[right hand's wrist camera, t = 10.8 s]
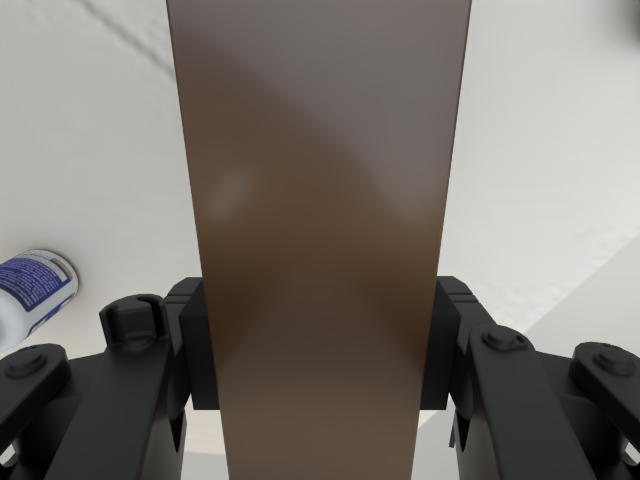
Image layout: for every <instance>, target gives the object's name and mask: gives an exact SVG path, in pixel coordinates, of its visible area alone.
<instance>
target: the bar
mask: <svg viewBox="0 0 640 480" xmlns="http://www.w3.org/2000/svg"><path fill="white" fill-rule="evenodd" d="M471 4H472V0H166V5H167V13H168V20H169V28H170V35H171V43H172V51H173V58H174V66H175V73H176V81H177V88H178V96H179V103H180V111H181V119H182V126H183V134H184V141H185V149H186V156H187V164H188V171H189V179H190V187H191V194H192V202H193V209H194V217H195V224H196V232H197V239H198V247H199V255H200V262H201V270H202V277H203V285H204V292H205V300H206V307H207V315H208V323H209V330H210V338H211V345H212V353H213V360H214V368H215V375H216V383H217V391H218V398H219V406H220V413H221V421H222V428H223V436H224V443H225V451H226V459H227V466H228V473H229V480H411V474H412V467H413V459H414V451H415V443H416V435H417V428H418V420H419V412H420V404H421V396H422V388H423V380H424V373H425V365H426V357H427V349H428V341H429V333H430V326H431V318H432V310H433V302H434V294H435V286H436V278H437V271H438V263H439V255H440V247H441V239H442V231H443V223H444V216H445V208H446V200H447V192H448V184H449V176H450V169H451V161H452V153H453V145H454V137H455V129H456V121H457V114H458V106H459V98H460V90H461V82H462V74H463V66H464V59H465V51H466V43H467V35H468V27H469V19H470V12H471Z"/></svg>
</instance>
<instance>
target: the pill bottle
mask: <svg viewBox="0 0 640 480" xmlns="http://www.w3.org/2000/svg"><path fill="white" fill-rule="evenodd" d="M77 290H78V279H77V276H76V273H75V272H74V270H73V268H72V267H71V266H70V264H69V263H68V262H66V261H65V260H64V259H63V258H61V257H60V256H58V255H56V254H54V253H51V252H48V251H44V250H30V251H26V252H23V253H21V254H19V255H17V256H16V257H14V258H12V259H10V260H8V261H6V262H4V263H2V264H1V265H0V352H1V351H5V350H9V349H11V348H13V347H15V346H17V345H18V344H20V343H21V342H22V341H23V340H25V339H26V338H27V337H28V336H30V335H31V334H32V333H33V332H34V331H35V330H37V329H38V328H39V327H40V326H41V325H43V324H44V323H45V322H46V321H47V320H49V319H50V318H51V317H52V316H53V315H55V314H56V313H57V312H58V311H59V310H61V309H62V308H63V307H64V306H65V305H67V304H68V303H69V302H70V301H71V300H72V299H73V298H74V297H75V295H76V293H77Z"/></svg>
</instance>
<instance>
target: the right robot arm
mask: <svg viewBox="0 0 640 480" xmlns="http://www.w3.org/2000/svg"><path fill="white" fill-rule="evenodd" d="M99 316H100V320H101V324H102V328H103V331H104V335H105V339H106V343H107V347H106V349H105V351H104V353H100V354H96V355H91V356H86V357H81V358H76V359H71V360H68V358H67V355H66V351H65V349H64V348H63V347H61V346H60V345H57V344H50V343H48V344H39V345H33V346H30V347H25V348H22V349H20V350H18V351H16V352H14V353H12V354H9V355H7V356H6V357H4V358H3V359H1V360H0V456H1V455H2V453H3V452H4V451H5V450H6V449H7V448H8V447H9V446H10V444H11V443H12V446H13V448H14V450H15V454H14V455H13V456H12V457H11V458H10V459H9V460H8V461H7V462H6V463H5V464H3V465H2V464H1V463H0V480H180V479H181V470H182V461H183V453H184V444H185V436H186V427H187V421H186V415H185V409H184V408H185V405H186V403H187V401H188V398H189V396H190V394H191V397H192V403H193V409H194V410H220V406H219V398H218V391H217V383H216V375H215V368H214V360H213V353H212V345H211V338H210V330H209V323H208V315H207V307H206V300H205V292H204V285H203V277H187V278H185V279H183V280H182V281H180V282H179V283H177V284H175V285H174V286H173V288H172V289H171V290H170V291H169V293H168V294H167V296H166V297H165V298H164V299H163V298H162V297H161V296H158V295H154V294H138V295H132V296H127V297H124V298H122V299H119V300H116V301H114V302H112V303H110V304H109V305H107V306H105V307H104V308H103V309H102V310H101V311H100V312H99ZM449 393H450V395H451V397H452V400H453V402H454V404H455V406H456V409H455V415H454V420H453V426H452V431H451V437H450V443H449V447H452V448H454V444H456V452H457V461H458V469H459V478H460V480H640V462H639V463H638V464H637V463H636V462H635V461H634V460H633V459H631V457H630V456H629V455H628V454H627V453H626V452H625V449H626V447H627V445H628V442H630V443H631V444H632V445H633V447H634V448H635V449H636V450H637V451H638V452H639V453H640V358H639V357H637V356H636V355H634V354H632V353H630V352H628V351H626V350H623V349H622V348H620V347H617V346H614V345H610V344H606V343H598V342H586V343H580V344H579V345H578V346H576V347H575V350H574V353H573V356H572V358H567V357H562V356H557V355H552V354H547V353H542V352H539V351H535V348H534V346H533V345H532V343H531V342H530V341H529V340H528V338H527V337H525V336H524V335H522V334H521V333H519V332H518V331H515V330H513V329H511V328H508V327H506V326H501V325H497V324H496V322H495V321H494V320H493V319H492V317H491V316H490V315H489V313H488V312H487V311H486V310H485V308H484V307H483V306H482V304H481V303H479V301H478V299H477V298H476V297H475V296H474V295H473V293H472V292H471V290H470V289H469V288H468V287H467V285H466V284H465V283H463V282H461V281H460V280H458V279H457V278H455V277H453V276H437V278H436V286H435V294H434V302H433V310H432V318H431V326H430V333H429V341H428V349H427V357H426V365H425V373H424V380H423V388H422V396H421V404H420V410H446V407H447V401H448V395H449Z"/></svg>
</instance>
